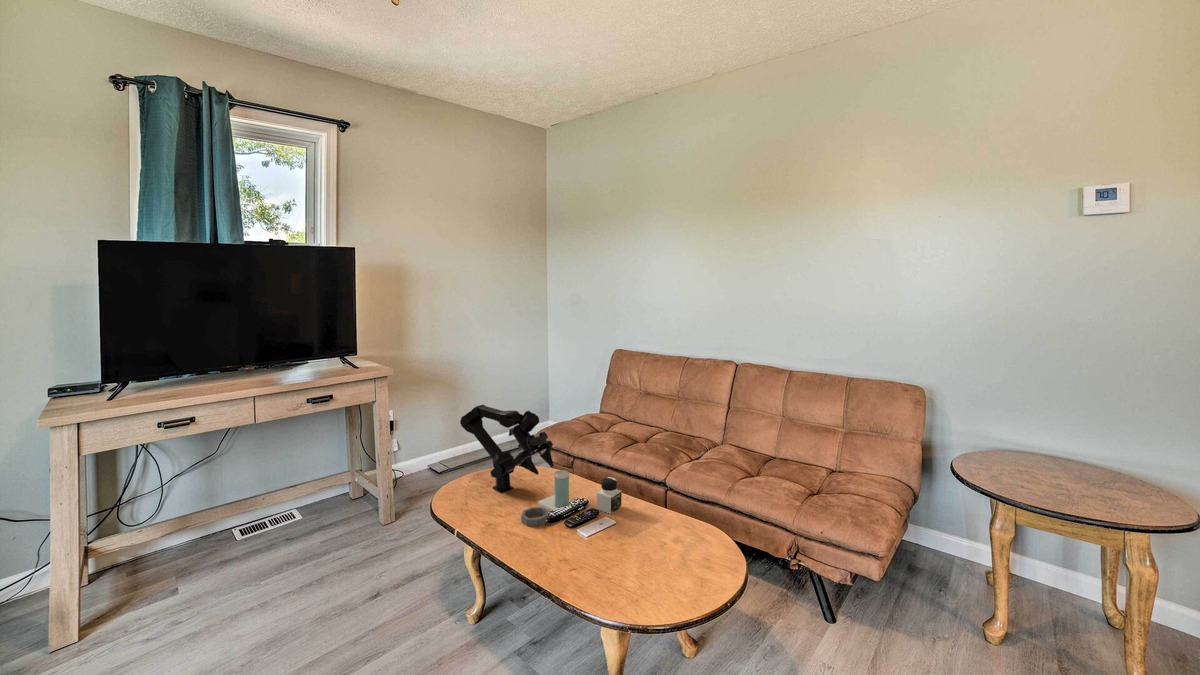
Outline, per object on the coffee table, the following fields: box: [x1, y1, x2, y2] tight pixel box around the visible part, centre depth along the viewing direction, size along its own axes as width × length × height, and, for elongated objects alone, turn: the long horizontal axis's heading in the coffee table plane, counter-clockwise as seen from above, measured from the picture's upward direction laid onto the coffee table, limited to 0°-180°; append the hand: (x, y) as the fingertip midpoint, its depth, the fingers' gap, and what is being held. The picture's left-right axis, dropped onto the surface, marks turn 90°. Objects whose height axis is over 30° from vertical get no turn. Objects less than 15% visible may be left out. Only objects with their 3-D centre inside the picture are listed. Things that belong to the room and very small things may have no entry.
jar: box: [553, 469, 570, 508], centre depth 190 cm, size 6×6×13 cm
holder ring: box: [521, 506, 549, 527], centre depth 181 cm, size 10×10×2 cm
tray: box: [537, 494, 584, 516], centre depth 191 cm, size 16×10×1 cm, turn 44°
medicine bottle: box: [596, 476, 623, 515], centre depth 189 cm, size 7×7×12 cm
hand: (545, 470), depth 193 cm, fingers open, 9 cm apart
